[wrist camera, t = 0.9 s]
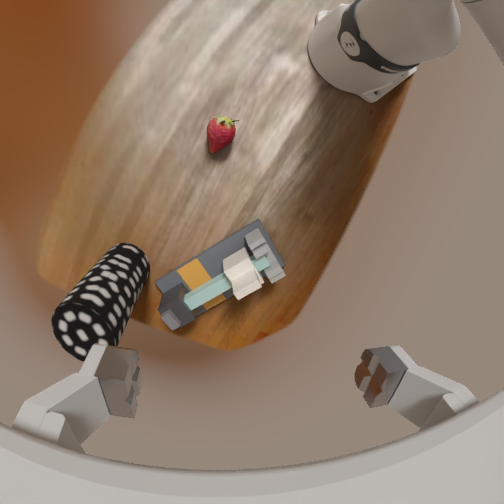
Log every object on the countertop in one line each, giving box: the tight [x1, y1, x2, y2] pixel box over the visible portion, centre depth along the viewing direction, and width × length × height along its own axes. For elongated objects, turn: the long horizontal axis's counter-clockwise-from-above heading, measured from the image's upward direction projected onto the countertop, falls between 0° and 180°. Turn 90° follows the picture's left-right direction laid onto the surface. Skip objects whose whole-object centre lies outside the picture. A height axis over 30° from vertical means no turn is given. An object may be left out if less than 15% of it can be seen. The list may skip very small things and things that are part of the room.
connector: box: [158, 282, 196, 331], centre depth 43 cm, size 4×4×7 cm
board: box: [155, 219, 285, 316], centre depth 46 cm, size 20×9×1 cm, turn 120°
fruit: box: [207, 116, 239, 153], centre depth 37 cm, size 4×6×5 cm
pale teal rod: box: [184, 255, 270, 310], centre depth 43 cm, size 16×2×2 cm, turn 120°
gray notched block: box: [245, 228, 286, 283], centre depth 43 cm, size 2×7×6 cm, turn 30°
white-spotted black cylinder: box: [52, 243, 150, 361], centre depth 35 cm, size 8×8×20 cm
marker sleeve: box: [223, 247, 264, 300], centre depth 41 cm, size 4×5×9 cm
